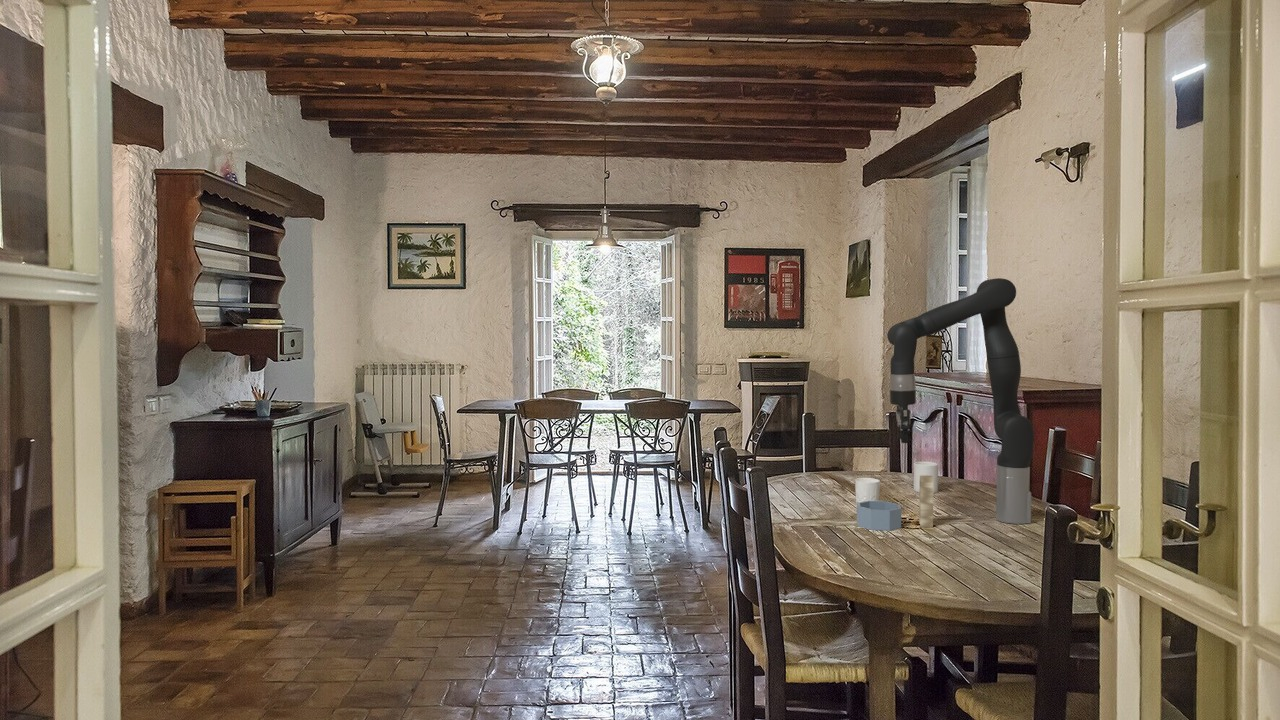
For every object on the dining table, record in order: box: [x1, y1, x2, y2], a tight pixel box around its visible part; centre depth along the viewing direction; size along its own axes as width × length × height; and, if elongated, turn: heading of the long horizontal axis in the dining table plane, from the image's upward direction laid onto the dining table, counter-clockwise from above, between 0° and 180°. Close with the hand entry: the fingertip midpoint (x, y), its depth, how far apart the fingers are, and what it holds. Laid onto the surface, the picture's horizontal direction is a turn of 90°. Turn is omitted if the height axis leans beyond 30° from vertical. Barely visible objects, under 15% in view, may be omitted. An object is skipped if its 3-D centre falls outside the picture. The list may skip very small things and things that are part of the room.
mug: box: [913, 461, 939, 495], centre depth 291 cm, size 12×8×10 cm
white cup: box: [854, 477, 881, 505], centre depth 262 cm, size 8×8×10 cm
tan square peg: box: [918, 475, 934, 528], centre depth 242 cm, size 4×4×15 cm
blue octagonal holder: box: [856, 500, 902, 532], centre depth 243 cm, size 13×13×6 cm
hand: (903, 440), depth 246 cm, fingers open, 8 cm apart
